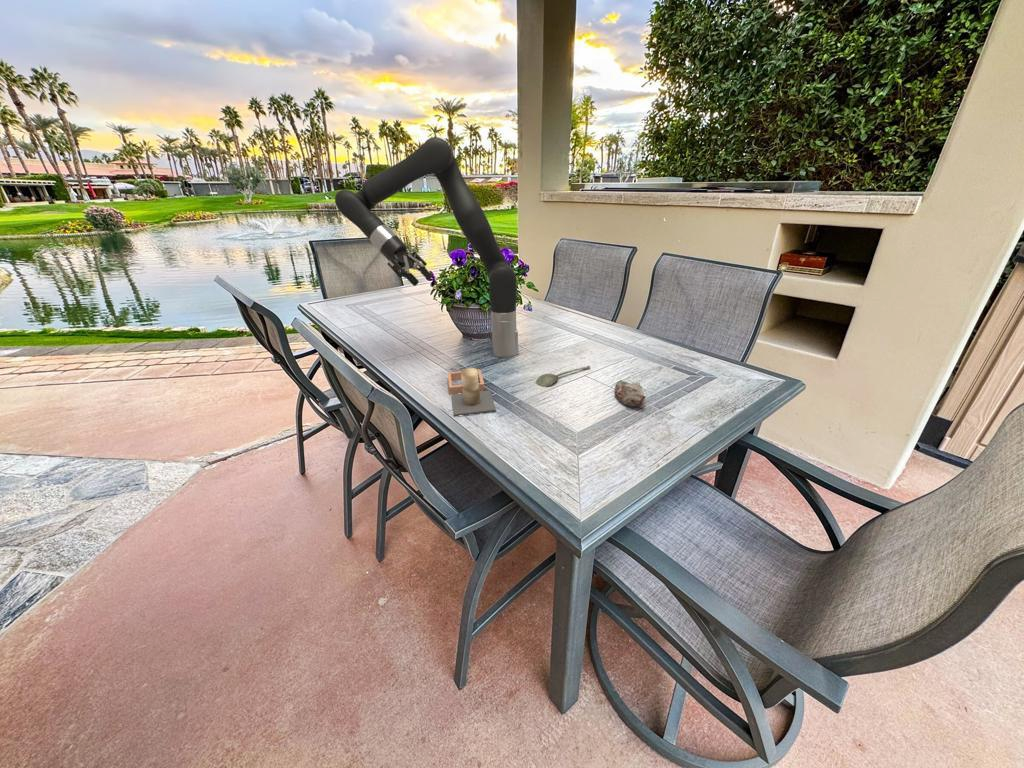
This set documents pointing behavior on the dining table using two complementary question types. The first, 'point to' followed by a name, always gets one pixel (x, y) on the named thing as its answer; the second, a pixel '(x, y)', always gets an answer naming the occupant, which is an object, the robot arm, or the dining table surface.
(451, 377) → the terracotta collar
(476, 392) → the maple post
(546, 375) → the soupspoon
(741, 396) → the dining table surface
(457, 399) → the charcoal mat
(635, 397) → the mineral rock
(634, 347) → the dining table surface
